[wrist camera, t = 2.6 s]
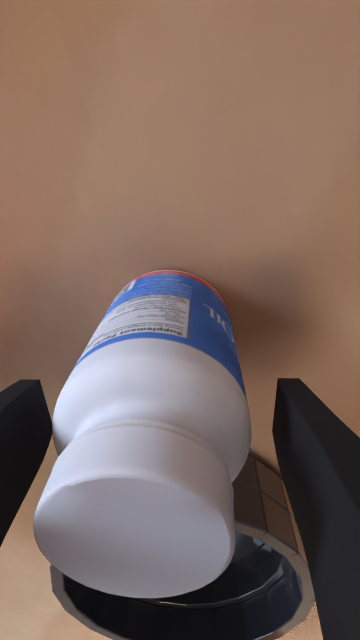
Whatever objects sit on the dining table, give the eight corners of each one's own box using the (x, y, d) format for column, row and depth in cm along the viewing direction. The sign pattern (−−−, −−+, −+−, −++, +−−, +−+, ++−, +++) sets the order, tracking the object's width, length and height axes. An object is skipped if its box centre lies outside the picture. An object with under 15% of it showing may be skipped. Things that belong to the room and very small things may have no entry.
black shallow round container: (150, 587, 26) (140, 669, 22) (34, 478, 21) (-6, 558, 17) (323, 543, 22) (351, 630, 18) (235, 398, 17) (246, 475, 13)
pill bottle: (236, 365, 16) (281, 616, 7) (128, 378, 17) (52, 623, 8) (222, 254, 14) (263, 433, 5) (96, 275, 14) (-59, 464, 6)
